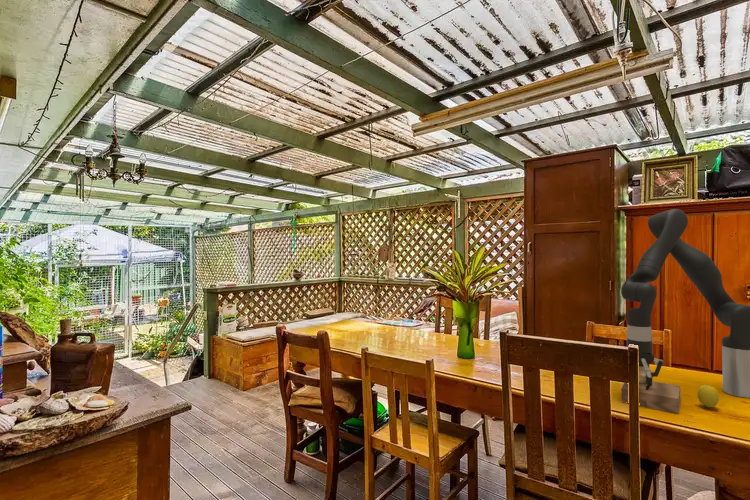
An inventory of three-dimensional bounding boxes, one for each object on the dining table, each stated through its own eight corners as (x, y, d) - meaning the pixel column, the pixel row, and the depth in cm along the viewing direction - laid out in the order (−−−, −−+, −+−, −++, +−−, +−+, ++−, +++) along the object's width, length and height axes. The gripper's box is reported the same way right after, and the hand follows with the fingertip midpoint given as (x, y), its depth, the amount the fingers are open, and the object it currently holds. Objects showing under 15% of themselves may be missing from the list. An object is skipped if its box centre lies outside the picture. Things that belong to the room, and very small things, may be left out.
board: (680, 399, 138) (680, 385, 138) (678, 414, 127) (678, 398, 127) (627, 389, 149) (627, 376, 149) (621, 402, 137) (621, 388, 137)
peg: (648, 395, 138) (647, 364, 138) (647, 399, 135) (646, 367, 135) (634, 392, 141) (633, 362, 141) (632, 396, 138) (632, 365, 138)
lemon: (697, 403, 135) (697, 380, 135) (718, 407, 132) (718, 383, 132) (697, 408, 131) (697, 385, 131) (719, 412, 127) (719, 388, 127)
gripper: (664, 338, 136) (665, 386, 136) (617, 333, 146) (618, 378, 146) (663, 342, 131) (664, 393, 131) (614, 337, 140) (615, 384, 140)
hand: (640, 385), depth 138 cm, fingers closed on peg, 4 cm apart
